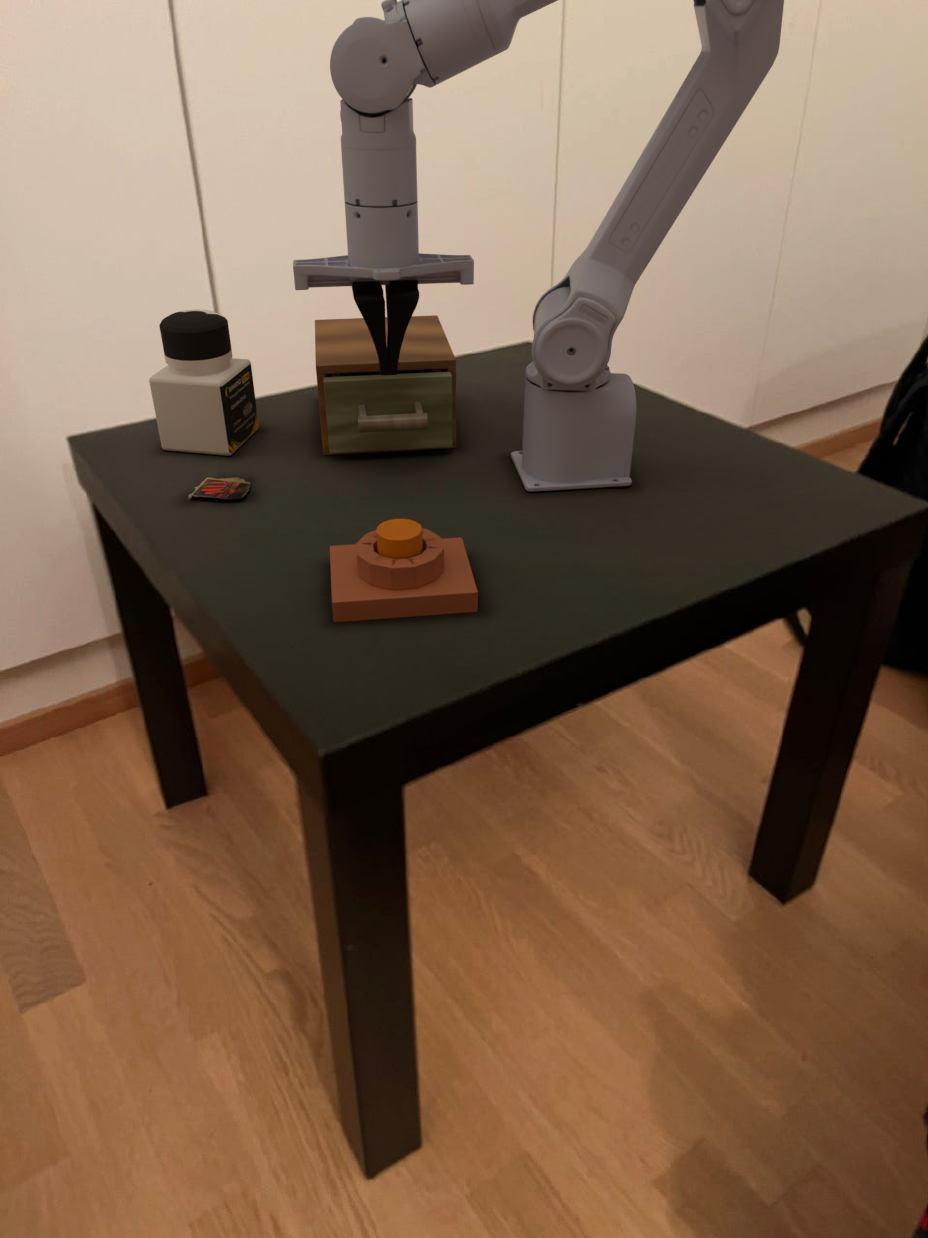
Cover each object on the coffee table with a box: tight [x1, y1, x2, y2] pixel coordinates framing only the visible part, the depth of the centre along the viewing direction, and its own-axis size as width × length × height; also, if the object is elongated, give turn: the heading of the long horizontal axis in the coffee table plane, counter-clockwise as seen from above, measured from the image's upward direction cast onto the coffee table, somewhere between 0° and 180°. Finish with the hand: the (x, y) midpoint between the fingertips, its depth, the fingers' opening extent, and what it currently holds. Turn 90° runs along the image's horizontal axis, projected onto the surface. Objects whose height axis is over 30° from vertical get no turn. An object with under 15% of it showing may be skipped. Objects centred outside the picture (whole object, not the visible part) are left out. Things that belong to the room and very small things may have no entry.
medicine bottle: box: [148, 309, 260, 457], centre depth 87 cm, size 7×7×12 cm
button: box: [375, 518, 423, 559], centre depth 66 cm, size 3×3×2 cm
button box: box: [329, 527, 479, 623], centre depth 67 cm, size 10×8×4 cm
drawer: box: [323, 369, 452, 453], centre depth 88 cm, size 18×11×7 cm, turn 8°
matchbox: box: [187, 476, 251, 502], centre depth 81 cm, size 5×5×1 cm
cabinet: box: [314, 314, 457, 456], centre depth 92 cm, size 15×13×9 cm
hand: (388, 371), depth 80 cm, fingers closed
